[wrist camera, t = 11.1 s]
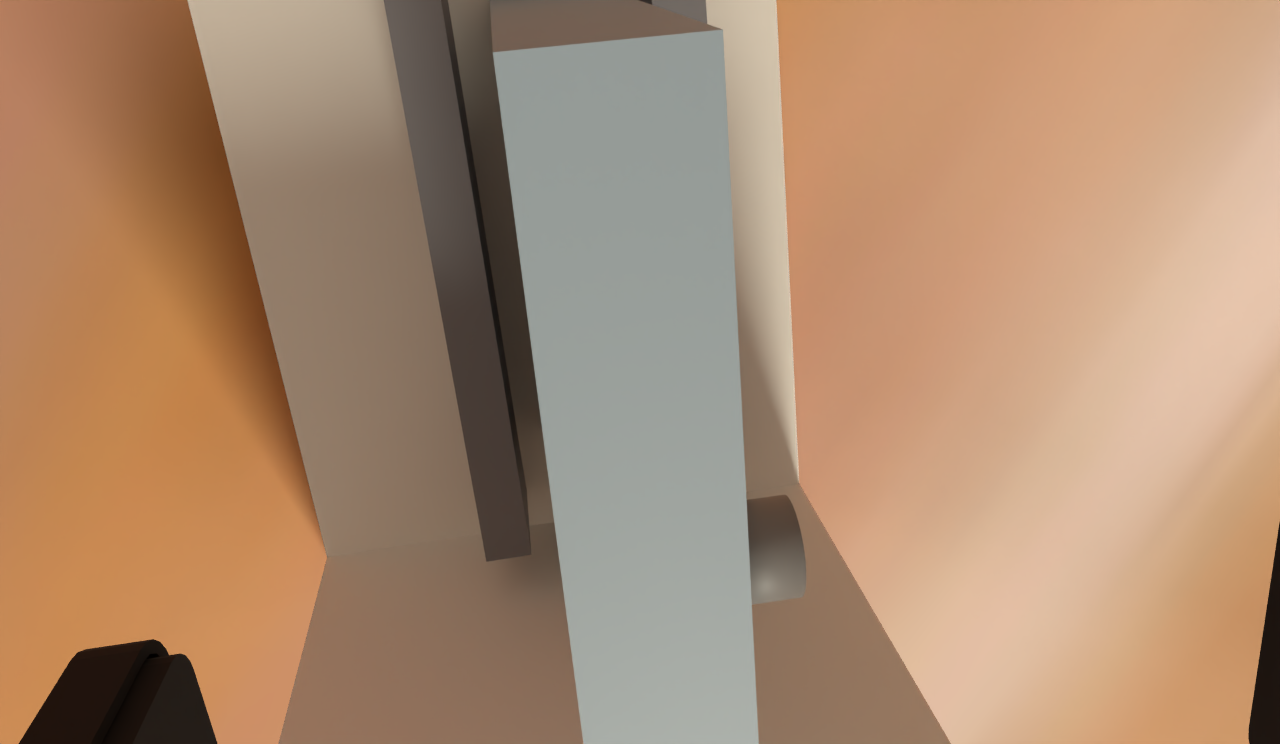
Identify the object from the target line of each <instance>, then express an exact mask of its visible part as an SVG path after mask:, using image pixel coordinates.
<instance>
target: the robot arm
mask: <svg viewBox="0 0 1280 744" xmlns="http://www.w3.org/2000/svg"><path fill="white" fill-rule="evenodd" d="M1249 743H1250V744H1280V523H1279V530H1278V537H1277V543H1276V550H1275V557H1274V564H1273V570H1272V577H1271V584H1270V590H1269V597H1268V604H1267V610H1266V617H1265V624H1264V630H1263V637H1262V644H1261V650H1260V657H1259V664H1258V671H1257V677H1256V684H1255V691H1254V697H1253V704H1252V711H1251V717H1250V724H1249ZM19 744H217V741H216V738H215V735H214V732H213V728H212V725H211V722H210V719H209V716H208V713H207V710H206V707H205V703H204V700H203V697H202V694H201V691H200V688H199V685H198V682H197V678H196V675H195V672H194V669H193V667H192V665H191V662H190V660H189V659H188V658H187V657H186V655H183V654H175V655H169V654H168V652H167V650H166V648H165V647H164V646H163V645H162V644H161V642H159V641H156V640H154V639H153V640H146V641H139V642H133V643H126V644H119V645H113V646H106V647H99V648H92V649H86V650H83V651H80V652H78V653H77V654H76V655H75V656H74V657H73V658H72V660H71V661H70V662H69V664H68V666H67V667H66V669H65V670H64V672H63V674H62V675H61V677H60V678H59V680H58V682H57V683H56V685H55V686H54V688H53V690H52V691H51V693H50V694H49V696H48V698H47V699H46V701H45V702H44V704H43V706H42V707H41V709H40V710H39V712H38V714H37V715H36V717H35V719H34V720H33V722H32V723H31V725H30V727H29V728H28V730H27V731H26V733H25V735H24V736H23V738H22V739H21V741H20V743H19Z"/></svg>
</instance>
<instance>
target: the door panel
mask: <svg viewBox="0 0 1280 744" xmlns="http://www.w3.org/2000/svg"><path fill="white" fill-rule="evenodd" d="M490 15H491V31H492V48H493V58H494V66H495V73H496V81H497V88H498V96H499V104H500V111H501V119H502V127H503V134H504V142H505V149H506V157H507V165H508V172H509V180H510V188H511V195H512V203H513V210H514V218H515V226H516V233H517V241H518V249H519V256H520V264H521V271H522V279H523V287H524V294H525V302H526V310H527V317H528V325H529V332H530V340H531V348H532V355H533V363H534V371H535V378H536V386H537V393H538V401H539V409H540V416H541V424H542V432H543V439H544V447H545V454H546V462H547V470H548V477H549V485H550V493H551V500H552V508H553V515H554V523H555V531H556V538H557V546H558V554H559V561H560V569H561V576H562V584H563V592H564V599H565V607H566V615H567V622H568V630H569V637H570V645H571V653H572V660H573V668H574V676H575V683H576V691H577V698H578V706H579V714H580V721H581V729H582V737H583V744H759V738H758V718H757V698H756V679H755V659H754V639H753V619H752V605H754V604H761V603H768V602H774V601H781V600H787V599H794V598H801V597H803V596H804V593H805V590H806V560H805V552H804V545H803V540H802V535H801V530H800V526H799V522H798V519H797V515H796V512H795V510H794V507H793V505H792V503H791V501H790V499H789V498H788V496H786V495H777V496H770V497H763V498H756V499H749V500H747V499H746V479H745V459H744V439H743V419H742V400H741V380H740V360H739V340H738V320H737V300H736V280H735V260H734V240H733V220H732V200H731V180H730V160H729V140H728V121H727V101H726V81H725V61H724V41H723V29H720V28H717V27H714V26H711V25H708V24H706V23H703V22H700V21H697V20H694V19H691V18H688V17H685V16H682V15H680V14H677V13H674V12H671V11H668V10H665V9H662V8H659V7H656V6H654V5H651V4H648V3H645V2H642V1H639V0H490Z"/></svg>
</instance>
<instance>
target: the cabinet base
mask: <svg viewBox="0 0 1280 744" xmlns="http://www.w3.org/2000/svg"><path fill="white" fill-rule="evenodd" d="M639 1H642V2H645V3H648V4H651V5H654V6H656V7H659V8H662V9H665V10H668V11H671V12H674V13H677V14H680V15H682V16H685V17H688V18H691V19H694V20H697V21H700V22H703V23H706V24H708V25H711V26H714V27H717V28H720V29H723V41H724V61H725V81H726V101H727V121H728V140H729V160H730V180H731V200H732V220H733V240H734V260H735V280H736V300H737V320H738V340H739V360H740V380H741V400H742V419H743V439H744V459H745V479H746V499H747V500H749V499H756V498H763V497H770V496H777V495H786V496H788V498H789V499H790V501H791V503H792V505H793V507H794V510H795V512H796V515H797V519H798V522H799V526H800V530H801V535H802V540H803V545H804V552H805V560H806V590H805V593H804V596H803V597H801V598H794V599H787V600H781V601H774V602H768V603H761V604H754V605H752V619H753V639H754V659H755V679H756V698H757V718H758V738H759V744H951V743H950V742H949V740H948V738H947V736H946V735H945V733H944V731H943V730H942V728H941V726H940V724H939V723H938V721H937V719H936V718H935V716H934V714H933V712H932V711H931V709H930V707H929V706H928V704H927V702H926V700H925V699H924V697H923V695H922V694H921V692H920V690H919V688H918V687H917V685H916V683H915V682H914V680H913V678H912V676H911V675H910V673H909V671H908V670H907V668H906V666H905V664H904V663H903V661H902V659H901V658H900V656H899V654H898V652H897V651H896V649H895V647H894V646H893V644H892V642H891V640H890V639H889V637H888V635H887V634H886V632H885V630H884V628H883V627H882V625H881V623H880V622H879V620H878V618H877V616H876V615H875V613H874V611H873V610H872V608H871V606H870V604H869V603H868V601H867V599H866V598H865V596H864V594H863V592H862V591H861V589H860V587H859V586H858V584H857V582H856V580H855V579H854V577H853V575H852V574H851V572H850V570H849V568H848V567H847V565H846V563H845V562H844V560H843V558H842V556H841V555H840V553H839V551H838V550H837V548H836V546H835V544H834V543H833V541H832V539H831V537H830V536H829V534H828V532H827V531H826V529H825V527H824V525H823V524H822V522H821V520H820V519H819V517H818V515H817V513H816V512H815V510H814V508H813V507H812V505H811V503H810V501H809V500H808V498H807V496H806V495H805V493H804V491H803V489H802V488H801V486H800V484H799V470H798V449H797V427H796V406H795V385H794V364H793V343H792V322H791V300H790V279H789V258H788V237H787V216H786V195H785V173H784V152H783V131H782V110H781V89H780V67H779V46H778V25H777V4H776V0H639ZM188 4H189V8H190V12H191V16H192V20H193V24H194V28H195V32H196V36H197V40H198V44H199V48H200V52H201V56H202V60H203V64H204V68H205V72H206V76H207V80H208V84H209V88H210V92H211V96H212V100H213V104H214V108H215V112H216V116H217V120H218V124H219V128H220V132H221V136H222V140H223V144H224V148H225V152H226V156H227V160H228V164H229V168H230V172H231V176H232V180H233V184H234V188H235V192H236V196H237V200H238V204H239V208H240V212H241V216H242V220H243V224H244V228H245V232H246V236H247V240H248V244H249V248H250V252H251V256H252V260H253V264H254V268H255V272H256V276H257V279H258V283H259V287H260V291H261V295H262V299H263V303H264V307H265V311H266V315H267V319H268V323H269V327H270V331H271V335H272V339H273V343H274V347H275V351H276V355H277V359H278V363H279V367H280V371H281V375H282V379H283V383H284V387H285V391H286V395H287V399H288V403H289V407H290V411H291V415H292V419H293V423H294V427H295V431H296V435H297V439H298V443H299V447H300V451H301V455H302V459H303V463H304V467H305V471H306V475H307V479H308V483H309V487H310V491H311V495H312V499H313V503H314V507H315V511H316V515H317V519H318V523H319V527H320V531H321V535H322V539H323V543H324V547H325V551H326V555H327V560H326V564H325V568H324V572H323V576H322V579H321V583H320V587H319V591H318V595H317V598H316V602H315V606H314V610H313V614H312V618H311V621H310V625H309V629H308V633H307V637H306V641H305V644H304V648H303V652H302V656H301V660H300V664H299V667H298V671H297V675H296V679H295V683H294V687H293V690H292V694H291V698H290V702H289V706H288V710H287V713H286V717H285V721H284V725H283V729H282V733H281V736H280V740H279V744H583V737H582V729H581V721H580V714H579V706H578V698H577V691H576V683H575V676H574V668H573V660H572V653H571V645H570V637H569V630H568V622H567V615H566V607H565V599H564V592H563V584H562V576H561V569H560V561H559V554H558V546H557V538H556V531H555V523H554V515H553V508H552V500H551V493H550V485H549V477H548V470H547V462H546V454H545V447H544V439H543V432H542V424H541V416H540V409H539V401H538V393H537V386H536V378H535V371H534V363H533V355H532V348H531V340H530V332H529V325H528V317H527V310H526V302H525V294H524V287H523V279H522V271H521V264H520V256H519V249H518V241H517V233H516V226H515V218H514V210H513V203H512V195H511V188H510V180H509V172H508V165H507V157H506V149H505V142H504V134H503V127H502V119H501V111H500V104H499V96H498V88H497V81H496V73H495V66H494V58H493V48H492V31H491V15H490V0H188Z"/></svg>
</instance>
